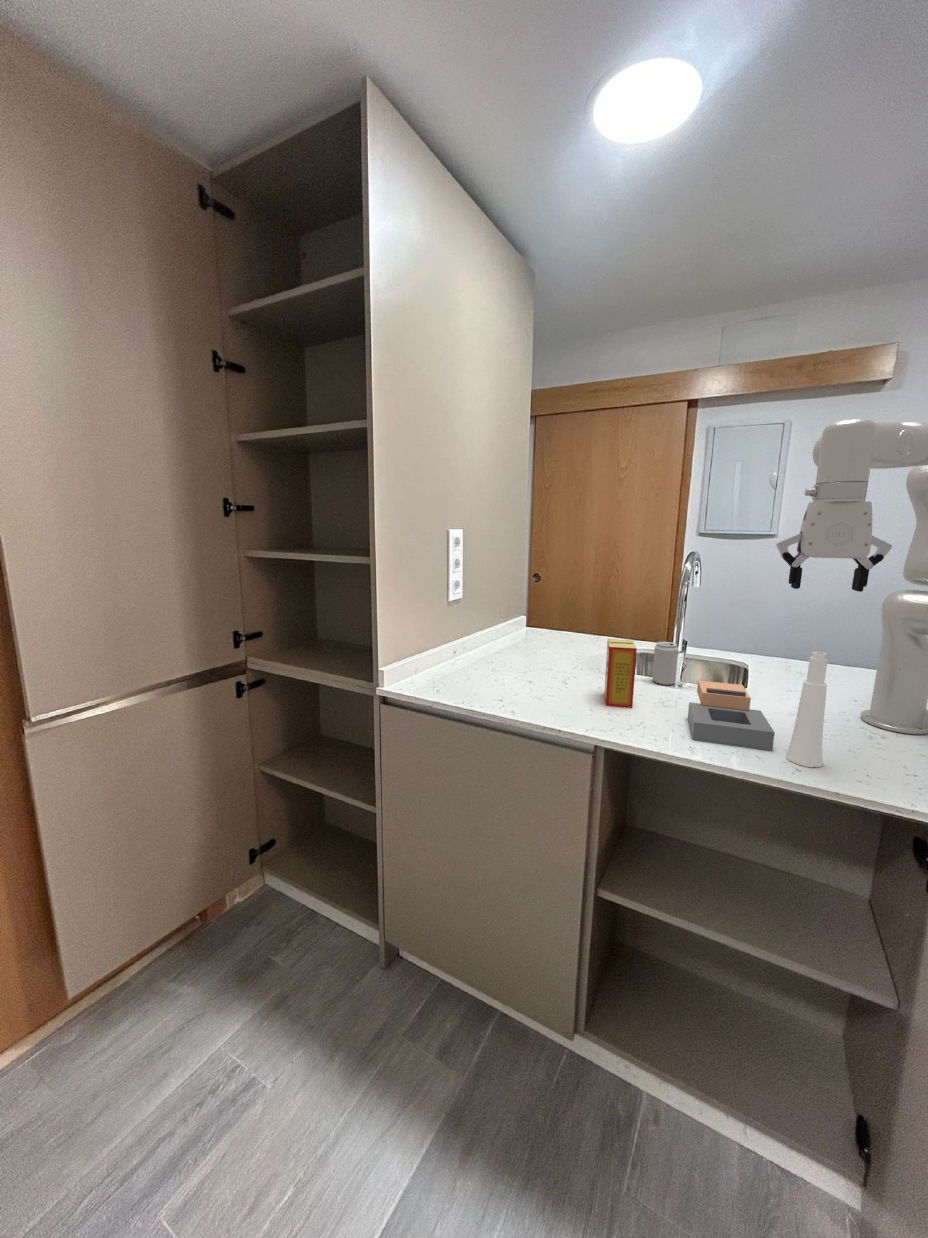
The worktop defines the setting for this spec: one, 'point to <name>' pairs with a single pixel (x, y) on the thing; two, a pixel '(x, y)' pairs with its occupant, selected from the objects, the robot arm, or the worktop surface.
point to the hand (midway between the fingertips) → (825, 589)
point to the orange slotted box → (723, 695)
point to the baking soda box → (620, 673)
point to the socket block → (730, 726)
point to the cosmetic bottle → (810, 716)
